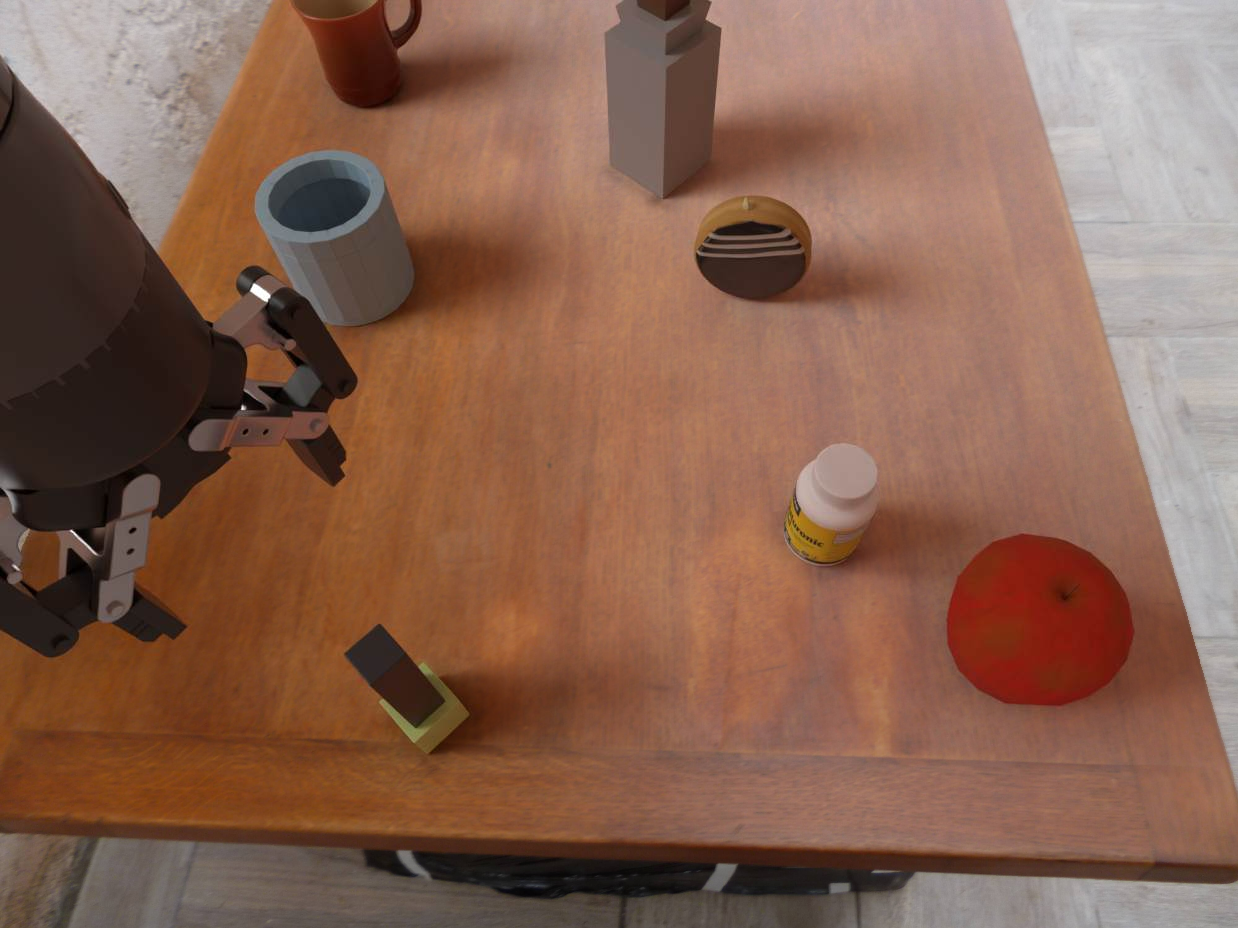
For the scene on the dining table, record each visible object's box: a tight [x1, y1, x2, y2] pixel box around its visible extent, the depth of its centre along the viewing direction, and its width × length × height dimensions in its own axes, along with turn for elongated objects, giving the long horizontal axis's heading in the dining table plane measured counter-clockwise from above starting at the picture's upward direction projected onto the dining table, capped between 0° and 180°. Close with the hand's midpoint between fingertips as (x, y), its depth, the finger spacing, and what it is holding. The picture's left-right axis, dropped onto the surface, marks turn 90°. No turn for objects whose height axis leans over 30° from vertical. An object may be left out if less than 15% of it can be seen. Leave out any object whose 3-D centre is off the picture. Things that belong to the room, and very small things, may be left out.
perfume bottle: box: [603, 0, 723, 199], centre depth 73 cm, size 7×7×18 cm
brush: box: [343, 623, 470, 755], centre depth 50 cm, size 4×4×14 cm
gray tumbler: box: [254, 149, 416, 327], centre depth 70 cm, size 10×10×10 cm
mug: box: [290, 0, 423, 108], centre depth 83 cm, size 12×9×10 cm
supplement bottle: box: [782, 442, 880, 567], centre depth 57 cm, size 5×5×10 cm
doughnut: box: [693, 195, 813, 300], centre depth 69 cm, size 9×4×10 cm, turn 79°
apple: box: [946, 533, 1136, 707], centre depth 52 cm, size 10×10×12 cm
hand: (249, 543), depth 36 cm, fingers open, 8 cm apart
